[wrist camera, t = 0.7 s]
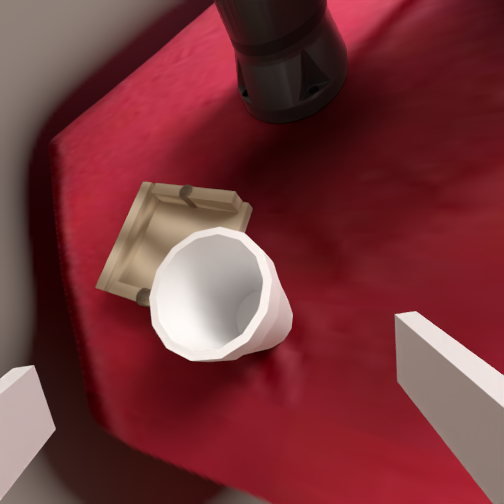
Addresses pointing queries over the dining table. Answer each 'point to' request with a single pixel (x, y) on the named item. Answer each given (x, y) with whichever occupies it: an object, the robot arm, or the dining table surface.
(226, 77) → the dining table surface
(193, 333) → the foam cup
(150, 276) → the cradle
